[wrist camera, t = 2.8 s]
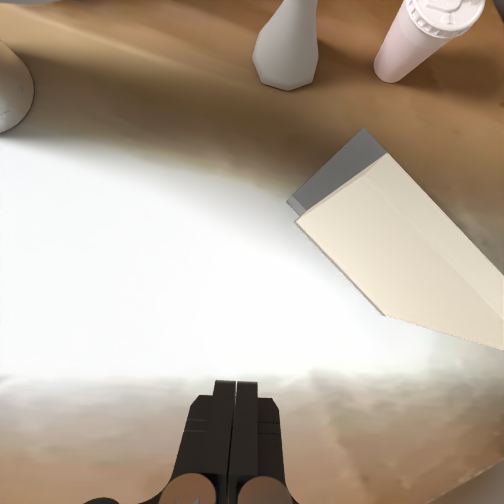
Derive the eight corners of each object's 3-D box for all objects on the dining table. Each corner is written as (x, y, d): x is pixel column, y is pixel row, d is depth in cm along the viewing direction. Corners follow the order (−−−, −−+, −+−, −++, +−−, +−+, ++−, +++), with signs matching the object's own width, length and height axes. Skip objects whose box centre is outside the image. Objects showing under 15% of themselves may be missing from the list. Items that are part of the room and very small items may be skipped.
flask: (253, 93, 35) (264, 22, 25) (249, 27, 35) (258, -69, 25) (320, 92, 35) (357, 22, 25) (315, 27, 36) (350, -67, 26)
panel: (293, 223, 31) (363, 174, 15) (304, 211, 31) (387, 151, 15) (380, 314, 31) (543, 364, 15) (392, 303, 31) (565, 339, 15)
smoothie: (350, 54, 36) (430, -84, 22) (398, 28, 36) (506, -122, 22) (380, 105, 36) (479, -1, 22) (428, 78, 36) (554, -42, 22)
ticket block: (286, 201, 34) (291, 195, 31) (352, 139, 35) (363, 127, 32) (390, 311, 34) (406, 315, 31) (453, 246, 35) (474, 244, 32)
